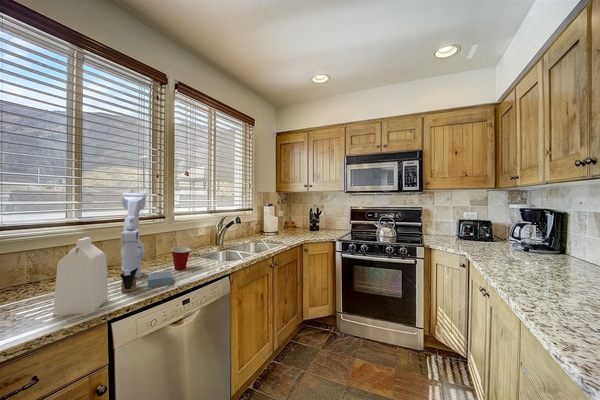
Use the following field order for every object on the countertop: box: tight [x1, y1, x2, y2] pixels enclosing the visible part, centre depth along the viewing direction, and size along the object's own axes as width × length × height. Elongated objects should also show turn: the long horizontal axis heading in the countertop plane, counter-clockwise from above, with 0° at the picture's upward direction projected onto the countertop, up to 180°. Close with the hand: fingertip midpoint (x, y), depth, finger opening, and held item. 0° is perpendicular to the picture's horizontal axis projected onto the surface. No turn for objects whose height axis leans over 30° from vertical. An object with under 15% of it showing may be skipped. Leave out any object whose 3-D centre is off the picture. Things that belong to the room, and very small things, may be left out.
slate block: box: [147, 271, 173, 289], centre depth 121 cm, size 10×10×4 cm
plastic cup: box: [170, 246, 192, 271], centre depth 144 cm, size 11×11×12 cm
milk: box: [52, 236, 109, 317], centre depth 93 cm, size 12×12×26 cm
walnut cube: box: [120, 277, 138, 294], centre depth 111 cm, size 5×5×5 cm
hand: (129, 286), depth 111 cm, fingers closed on walnut cube, 5 cm apart
